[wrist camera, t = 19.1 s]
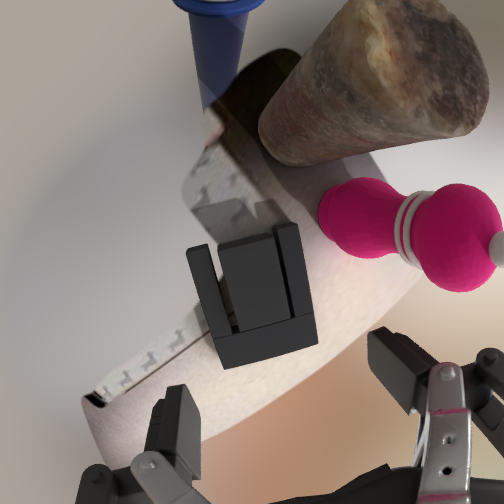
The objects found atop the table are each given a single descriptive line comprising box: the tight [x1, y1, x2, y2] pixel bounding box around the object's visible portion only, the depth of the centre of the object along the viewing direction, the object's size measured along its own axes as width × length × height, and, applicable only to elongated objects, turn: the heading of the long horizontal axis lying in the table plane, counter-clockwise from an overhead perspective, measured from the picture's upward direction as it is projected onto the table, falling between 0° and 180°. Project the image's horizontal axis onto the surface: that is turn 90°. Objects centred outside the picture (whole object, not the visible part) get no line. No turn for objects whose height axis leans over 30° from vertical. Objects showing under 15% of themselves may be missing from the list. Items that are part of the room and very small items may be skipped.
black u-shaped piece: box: [186, 222, 318, 370], centre depth 27 cm, size 13×10×2 cm
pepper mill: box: [318, 177, 504, 292], centre depth 18 cm, size 7×7×20 cm
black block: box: [217, 233, 291, 332], centre depth 26 cm, size 8×5×3 cm, turn 13°
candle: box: [258, 0, 489, 167], centre depth 15 cm, size 8×7×20 cm
